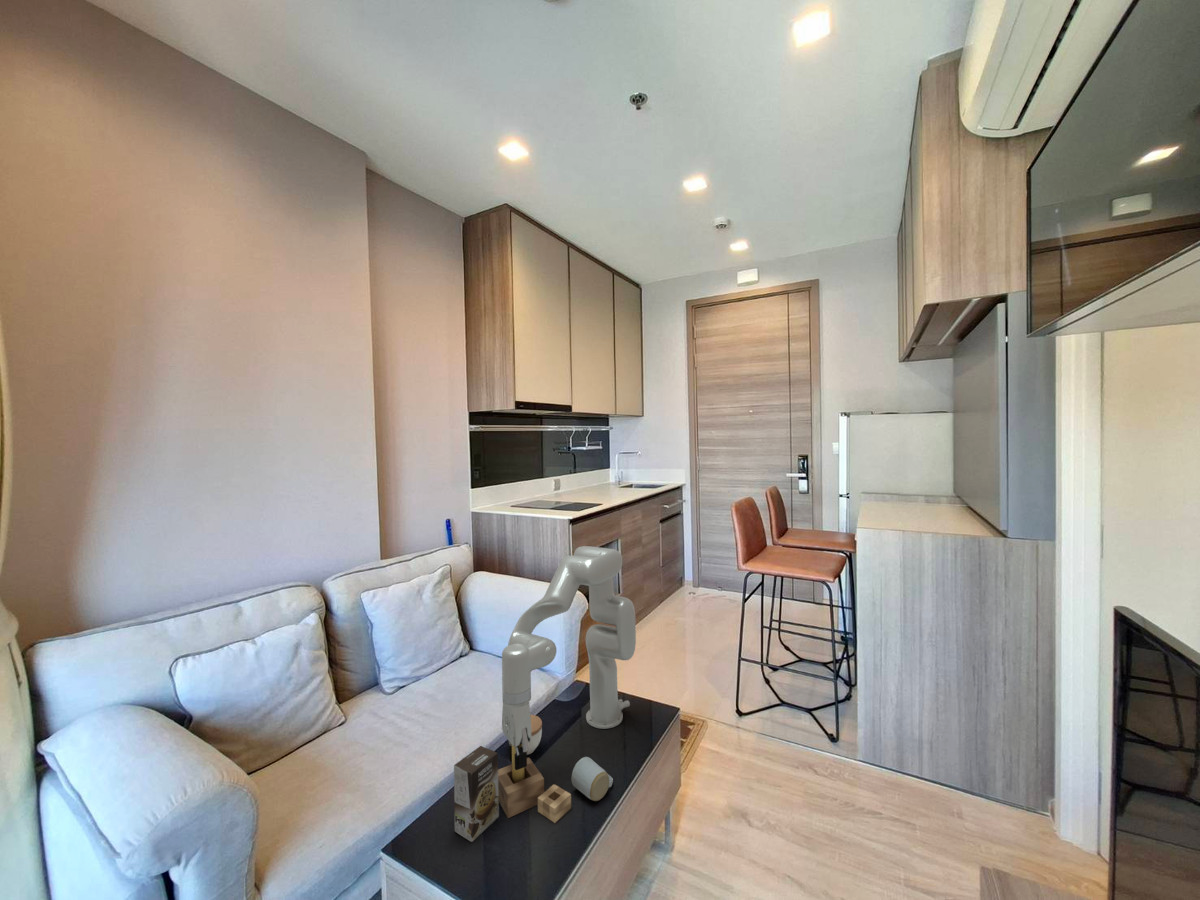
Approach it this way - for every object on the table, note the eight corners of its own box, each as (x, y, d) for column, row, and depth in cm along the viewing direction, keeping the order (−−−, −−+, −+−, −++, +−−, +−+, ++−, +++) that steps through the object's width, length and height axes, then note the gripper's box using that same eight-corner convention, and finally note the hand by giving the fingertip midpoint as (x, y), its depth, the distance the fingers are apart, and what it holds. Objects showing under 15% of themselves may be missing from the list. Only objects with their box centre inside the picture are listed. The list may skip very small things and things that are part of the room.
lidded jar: (546, 738, 145) (545, 709, 145) (538, 761, 135) (537, 729, 135) (513, 737, 146) (512, 708, 147) (502, 759, 136) (502, 728, 136)
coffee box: (472, 843, 107) (470, 774, 107) (453, 832, 110) (452, 764, 110) (500, 816, 114) (498, 752, 114) (482, 806, 118) (480, 744, 118)
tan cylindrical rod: (510, 777, 121) (509, 726, 121) (521, 773, 123) (520, 722, 123) (514, 785, 118) (513, 732, 118) (526, 780, 120) (525, 728, 120)
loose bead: (554, 797, 120) (554, 784, 120) (571, 807, 116) (570, 794, 117) (537, 811, 116) (537, 797, 116) (554, 823, 112) (554, 808, 112)
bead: (529, 778, 127) (529, 757, 127) (544, 801, 119) (543, 778, 119) (494, 793, 122) (494, 771, 122) (508, 818, 114) (507, 794, 114)
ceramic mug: (591, 809, 116) (591, 778, 116) (570, 792, 122) (570, 763, 122) (620, 788, 123) (619, 759, 123) (599, 773, 129) (598, 746, 129)
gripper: (493, 685, 126) (494, 752, 126) (514, 712, 112) (515, 788, 112) (518, 677, 130) (519, 742, 129) (542, 703, 116) (543, 776, 115)
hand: (518, 762), depth 120 cm, fingers closed on tan cylindrical rod, 3 cm apart
